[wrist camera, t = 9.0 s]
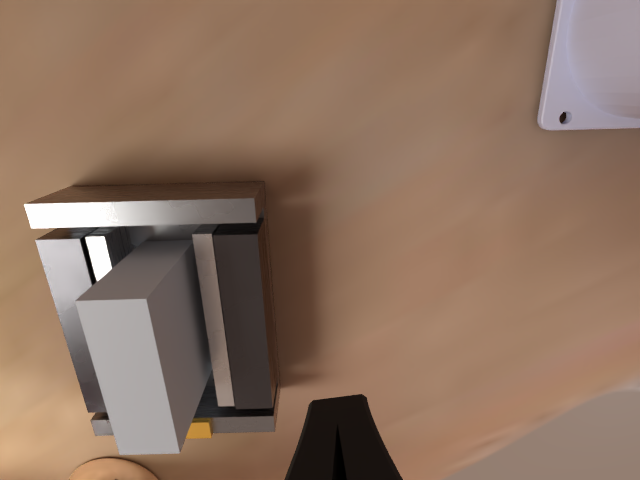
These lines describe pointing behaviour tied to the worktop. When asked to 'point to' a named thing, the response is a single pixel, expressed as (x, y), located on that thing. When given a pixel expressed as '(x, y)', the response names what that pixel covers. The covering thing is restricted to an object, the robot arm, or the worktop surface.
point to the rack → (214, 277)
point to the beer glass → (111, 470)
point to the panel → (149, 345)
